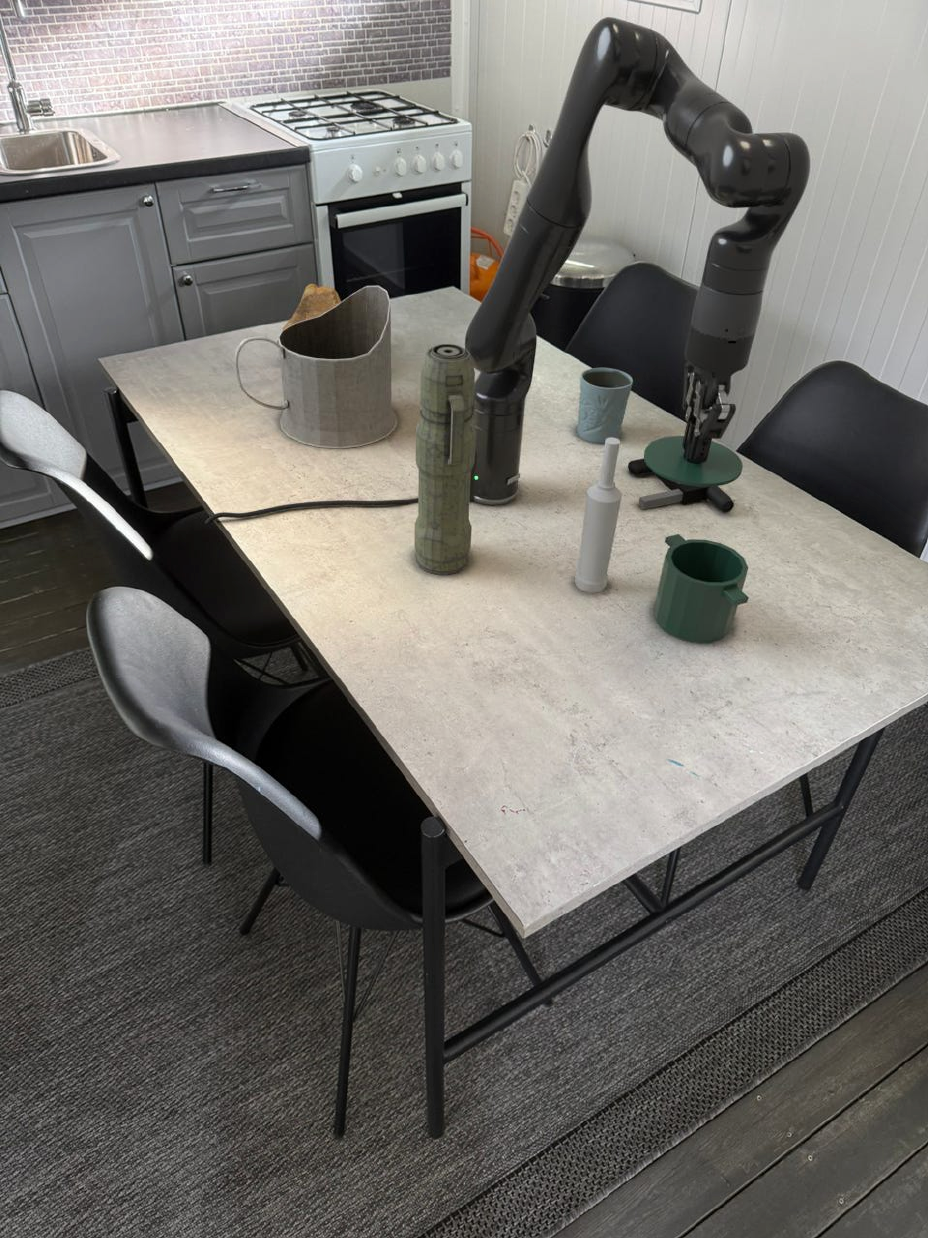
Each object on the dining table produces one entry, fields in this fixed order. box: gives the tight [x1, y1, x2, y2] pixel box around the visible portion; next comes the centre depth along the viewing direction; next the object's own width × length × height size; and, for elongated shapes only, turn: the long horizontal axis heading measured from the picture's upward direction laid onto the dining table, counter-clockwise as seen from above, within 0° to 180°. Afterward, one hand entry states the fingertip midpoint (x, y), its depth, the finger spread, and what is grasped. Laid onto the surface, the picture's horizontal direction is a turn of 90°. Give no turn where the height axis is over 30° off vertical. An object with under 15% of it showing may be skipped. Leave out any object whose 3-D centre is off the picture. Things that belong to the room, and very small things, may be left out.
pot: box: [653, 533, 750, 644], centre depth 134 cm, size 12×17×10 cm
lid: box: [643, 419, 744, 487], centre depth 116 cm, size 13×13×6 cm
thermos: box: [414, 343, 476, 576], centre depth 136 cm, size 9×12×35 cm
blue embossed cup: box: [576, 367, 634, 445], centre depth 180 cm, size 10×10×12 cm
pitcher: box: [233, 285, 398, 449], centre depth 174 cm, size 23×32×25 cm
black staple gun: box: [627, 457, 736, 514], centre depth 166 cm, size 3×20×16 cm
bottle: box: [574, 438, 623, 594], centre depth 135 cm, size 5×5×25 cm
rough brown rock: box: [276, 283, 342, 344], centre depth 200 cm, size 23×17×15 cm
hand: (693, 454), depth 117 cm, fingers closed on lid, 2 cm apart
